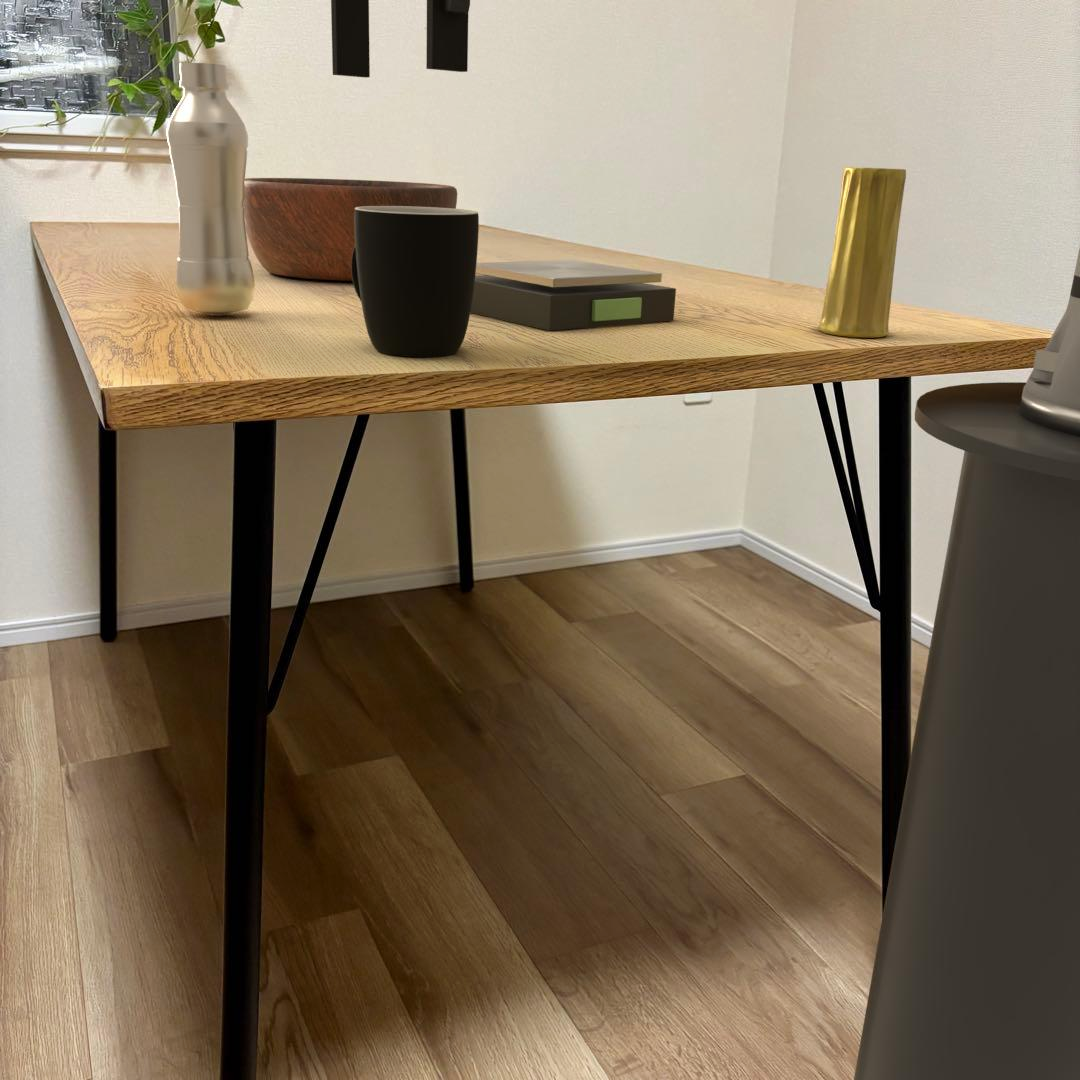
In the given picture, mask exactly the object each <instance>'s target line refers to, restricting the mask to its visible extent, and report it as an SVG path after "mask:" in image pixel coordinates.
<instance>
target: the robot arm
mask: <svg viewBox="0 0 1080 1080" xmlns="http://www.w3.org/2000/svg"><path fill="white" fill-rule="evenodd" d="M470 7H471V0H426V59H425V61H426V62H425V63H426V68H425V69H426V70H435V71H446V72H455V73H456V72H457V73H468V68H469V67H468V61H469V59H468V58H469V57H468V55H469V12H470ZM330 14H331V19H330V20H331V59H332V60H331V62H332V76H341V77H352V78H353V77H354V78H366V79H367V78H370V77H371V75H370V73H371V72H370V71H371V69H370V65H371V64H370V63H371V61H370V0H330ZM1075 263H1076V264H1075V269H1074V273H1073V279H1072V284H1071V289H1070V294H1069V298H1068V303H1067V307H1066V309H1065V312H1064V313H1063V315H1062V317H1061V319H1060V321H1059V322H1058V325H1057V326H1056V328H1055V329H1054V331H1053V333H1052V335H1051V337H1050V339H1049V341H1048V342H1047V344H1046V346H1045V348H1044V349H1037V348H1036V349H1035V350H1036V351H1035V355H1034V361H1033V366H1032V371H1031V373H1030V374H1029V376H1028V378H1027V380H1026V382H1025V383H1026V385H1025V386H1024V388H1023V394H1022V399H1021V404H1020V409H1019V411H1020V413H1021V415H1022V416H1024V417H1025V418H1026V419H1028V420H1030V421H1032V422H1034V423H1036V424H1038V425H1041V426H1044V427H1047V428H1050V429H1053V430H1056V431H1059V432H1063V433H1067V434H1071V435H1075V436H1079V437H1080V247H1079V249H1078V254H1077V258H1076V262H1075Z"/></svg>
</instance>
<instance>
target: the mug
mask: <svg viewBox="0 0 1080 1080" xmlns="http://www.w3.org/2000/svg"><path fill="white" fill-rule="evenodd" d="M479 217H480V216H479V212H478V211H476V210H471V209H464V208H463V209H462V208H456V209H452V208H436V207H412V206H363V207H356V208H355V211H354V231H355V247H354V249H353V253H352V260H351V273H352V280H353V281H352V284H353V289H354V291H355V293H356V296H357V297H358V299H359V301H360V302H361V309H362V314H363V318H364V324H365V327H366V331H367V335H368V338H369V340H370V343H371V344H372V347H373V348H374V349H375V350H376V351H377V352H378V353H382V354H384V355H385V354H386V355H390V356H396V357H397V356H398V357H408V358H409V357H410V358H411V357H412V358H432V357H443V356H449V355H453V354H455V353H457V352H458V351H459V350H460V348H461V347H462V344H463V342H464V340H465V337H466V334H467V331H468V326H469V321H470V317H471V313H470V311H471V305H472V298H473V291H474V283H475V276H476V274H477V273H476V263H478V250H479V231H480V230H479V229H480V228H479V225H480V224H479V223H480V222H479V221H480V220H479V219H480V218H479Z"/></svg>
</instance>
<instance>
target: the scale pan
mask: <svg viewBox="0 0 1080 1080" xmlns="http://www.w3.org/2000/svg"><path fill="white" fill-rule="evenodd" d="M475 274H478V275H487V276H493V277H498V278H504V279H509V280H515V281H520V282H525V283H531V284H536V285H542V286H547V287H552V288H557V287H576V286H595V285H614V284H633V283H646V284H650V283H651V284H652V283H662V279H663V273H661V272H655V271H649V270H644V269H636V268H629V267H622V266H616V265H610V264H603V263H596V262H590V261H582V260H576V259H554V260H553V259H552V260H551V259H549V260H524V261H523V260H522V261H493V262H491V261H490V262H477V263H476V273H475Z"/></svg>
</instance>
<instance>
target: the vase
mask: <svg viewBox="0 0 1080 1080" xmlns="http://www.w3.org/2000/svg"><path fill="white" fill-rule="evenodd" d="M842 172H843V173H842V183H841V192H840V198H839V206H838V213H837V220H836V227H835V234H834V240H833V248H832V253H831V254H832V256H831V259H830V260H831V261H830V266H829V272H828V277H827V282H826V287H825V294H824V301H823V306H822V313H821V317H820V320H819V325H818V331H820V332H822V333H825V334H827V335H828V334H829V335H832V336H837V337H838V336H839V337H847V338H857V339H858V338H860V339H874V338H875V339H876V338H877V339H878V338H883V337H885V336H887V335H888V334H889V319H890V313H891V301H892V295H893V293H892V292H893V284H894V283H893V282H894V272H895V264H896V262H895V261H896V253H897V246H898V237H899V231H900V230H899V228H900V223H901V222H900V221H901V215H902V207H903V199H904V194H905V193H904V191H905V185H906V179H907V169H905V168H883V167H881V168H880V167H862V166H861V167H860V166H859V167H857V166H844V168H843V171H842Z"/></svg>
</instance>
